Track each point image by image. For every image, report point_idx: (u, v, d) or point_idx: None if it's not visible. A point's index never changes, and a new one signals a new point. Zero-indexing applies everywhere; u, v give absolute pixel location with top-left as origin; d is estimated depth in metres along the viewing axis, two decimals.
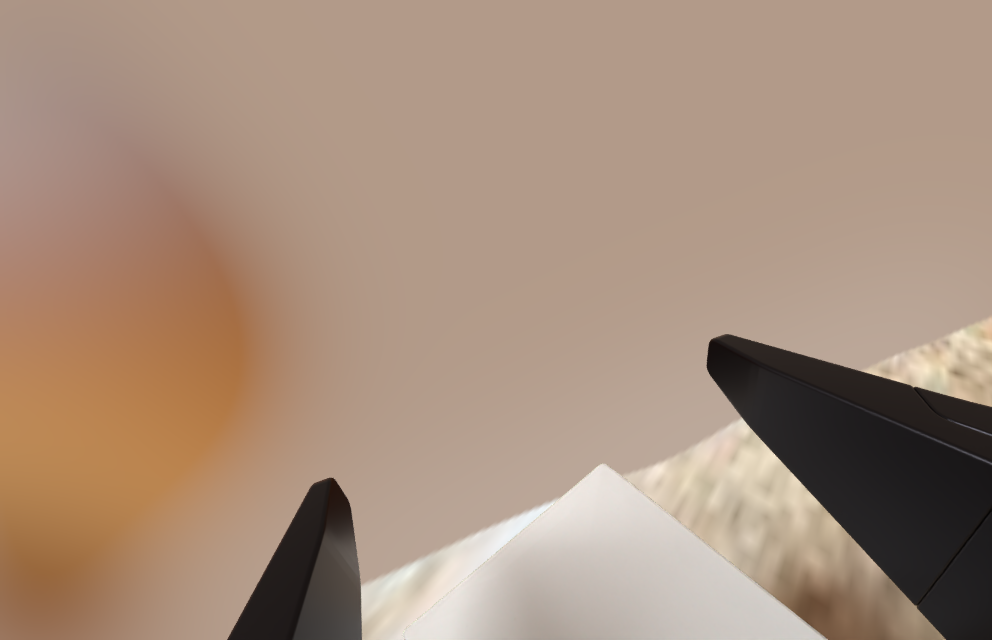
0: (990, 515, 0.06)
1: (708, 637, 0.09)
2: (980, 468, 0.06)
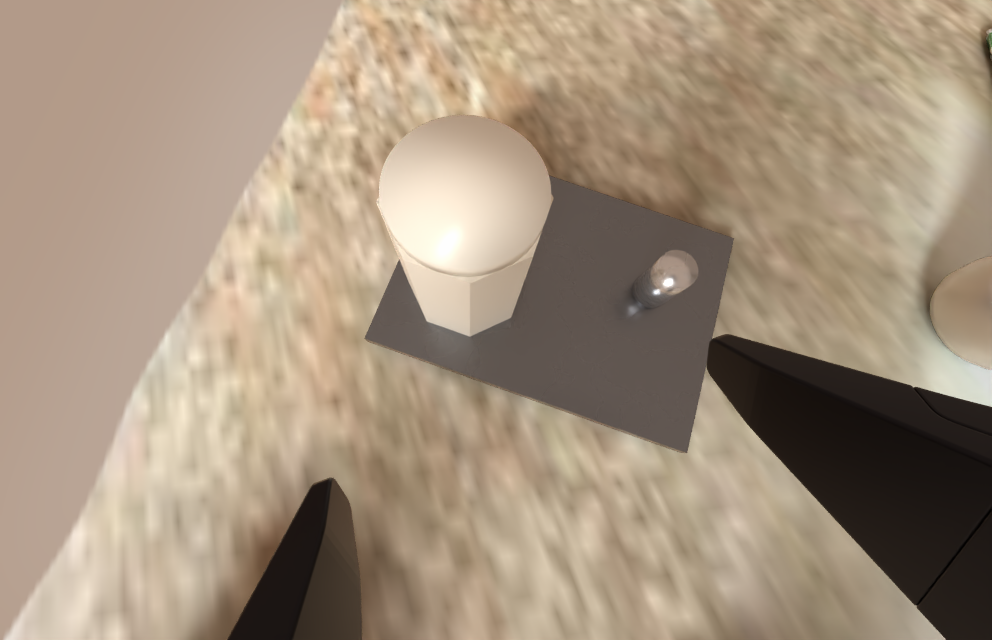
0: (990, 515, 0.06)
1: None
2: (979, 467, 0.06)
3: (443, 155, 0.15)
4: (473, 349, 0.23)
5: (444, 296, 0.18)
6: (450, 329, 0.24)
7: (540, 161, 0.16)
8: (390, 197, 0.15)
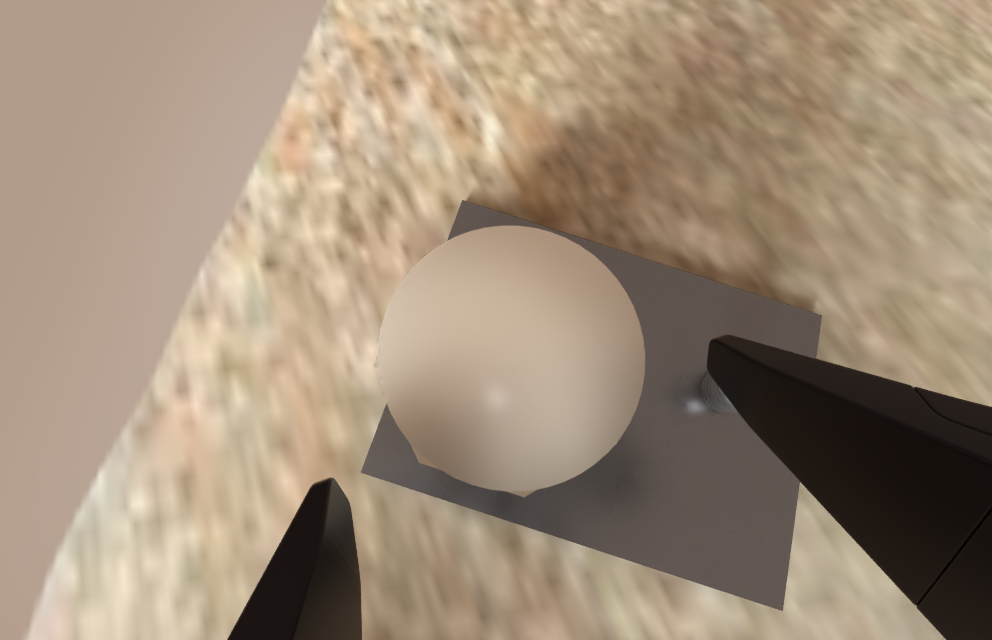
0: (991, 515, 0.06)
1: None
2: (978, 468, 0.06)
3: (476, 295, 0.10)
4: None
5: None
6: None
7: (624, 297, 0.10)
8: (396, 372, 0.09)
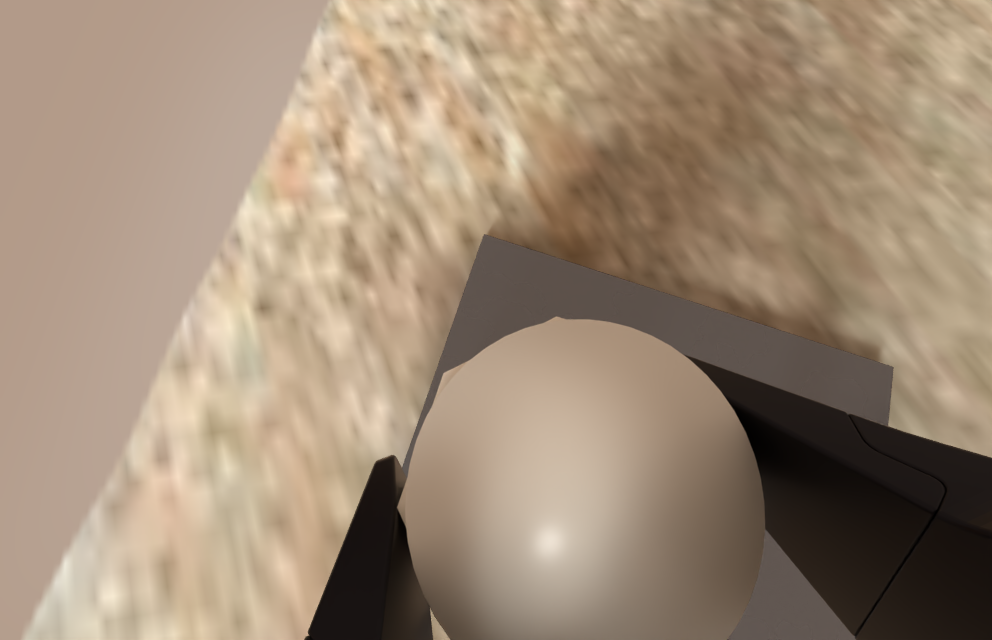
0: (913, 551, 0.06)
1: None
2: (900, 503, 0.06)
3: (536, 419, 0.07)
4: None
5: None
6: None
7: (732, 419, 0.08)
8: (431, 534, 0.07)
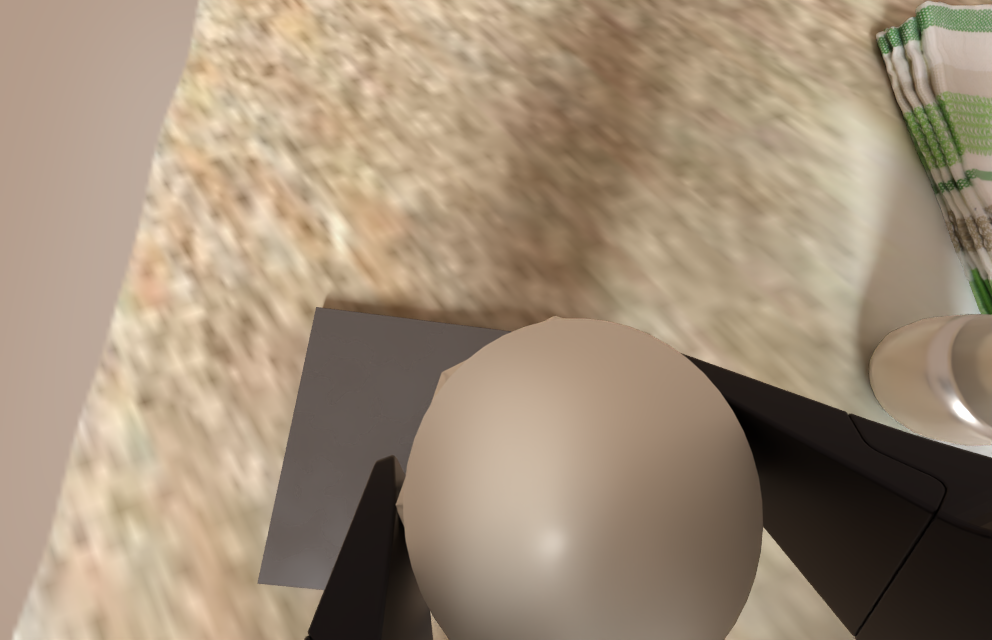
0: (914, 551, 0.06)
1: None
2: (900, 503, 0.06)
3: (534, 418, 0.07)
4: None
5: None
6: None
7: (730, 417, 0.08)
8: (429, 533, 0.07)
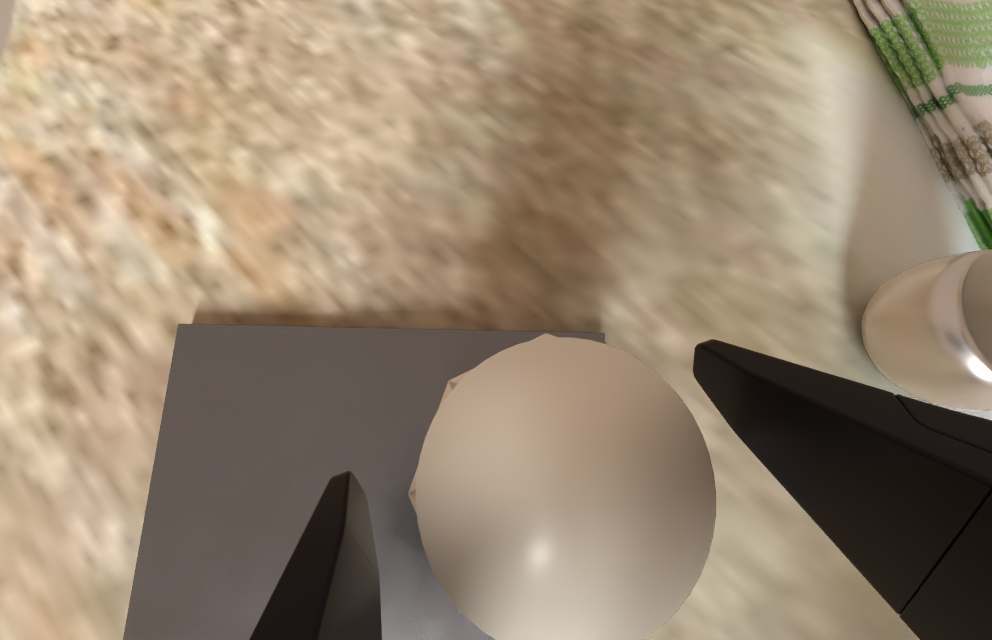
0: (969, 525, 0.06)
1: None
2: (957, 477, 0.06)
3: (525, 421, 0.09)
4: None
5: None
6: None
7: (691, 423, 0.09)
8: (436, 515, 0.08)
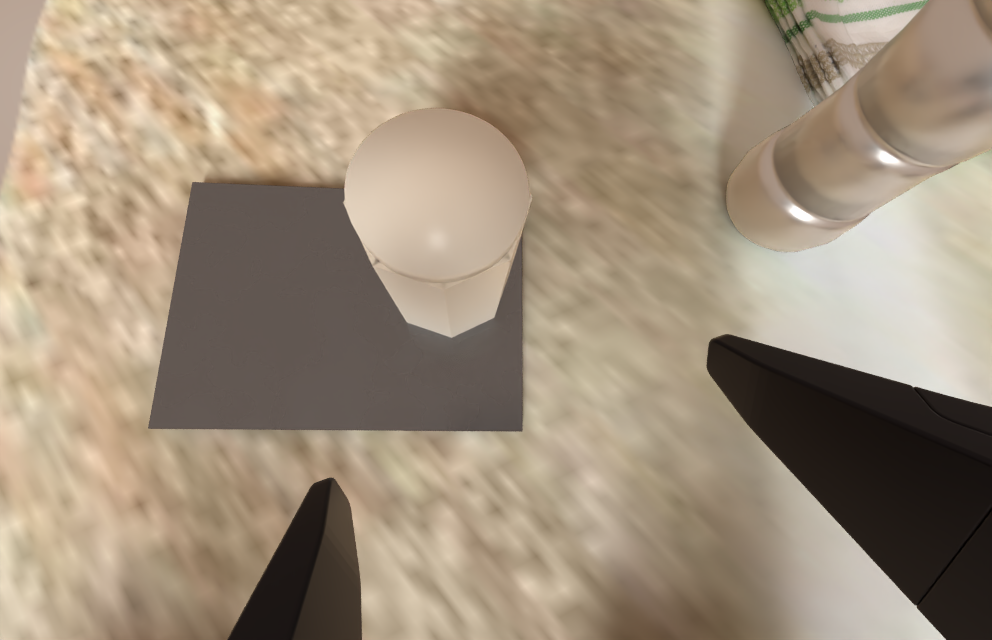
0: (990, 515, 0.06)
1: None
2: (979, 468, 0.06)
3: (413, 152, 0.14)
4: (273, 400, 0.22)
5: (419, 300, 0.17)
6: (431, 330, 0.23)
7: (517, 158, 0.15)
8: (356, 198, 0.14)
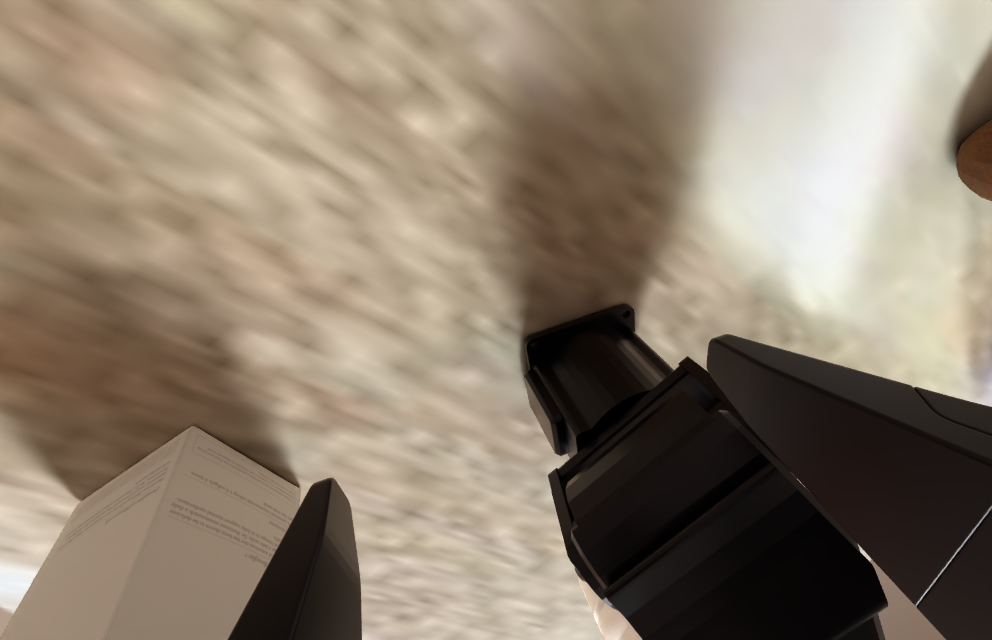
0: (990, 515, 0.06)
1: None
2: (978, 468, 0.06)
3: None
4: None
5: None
6: None
7: None
8: None
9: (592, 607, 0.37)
